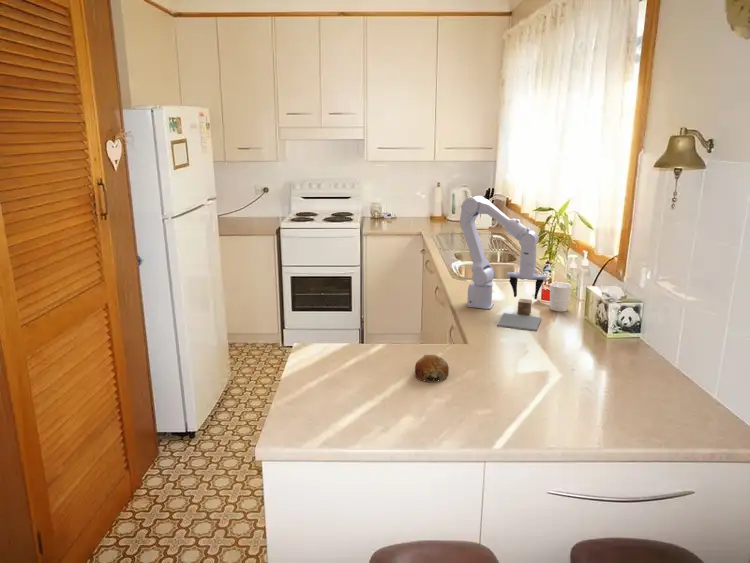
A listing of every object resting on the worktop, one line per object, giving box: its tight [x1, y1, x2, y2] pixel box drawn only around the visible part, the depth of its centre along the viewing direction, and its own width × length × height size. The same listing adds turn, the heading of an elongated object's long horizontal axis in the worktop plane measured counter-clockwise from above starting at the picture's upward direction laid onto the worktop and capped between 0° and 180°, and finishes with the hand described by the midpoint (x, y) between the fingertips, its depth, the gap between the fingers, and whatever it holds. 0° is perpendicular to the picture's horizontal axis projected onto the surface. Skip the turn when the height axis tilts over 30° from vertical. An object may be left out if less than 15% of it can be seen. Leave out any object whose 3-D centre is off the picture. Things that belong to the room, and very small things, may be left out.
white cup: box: [549, 281, 572, 312], centre depth 223 cm, size 8×8×10 cm
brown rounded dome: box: [414, 354, 450, 382], centre depth 165 cm, size 10×10×8 cm
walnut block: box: [516, 298, 532, 316], centre depth 219 cm, size 4×4×5 cm
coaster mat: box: [496, 312, 542, 332], centre depth 209 cm, size 14×14×1 cm
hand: (525, 297), depth 218 cm, fingers open, 7 cm apart
